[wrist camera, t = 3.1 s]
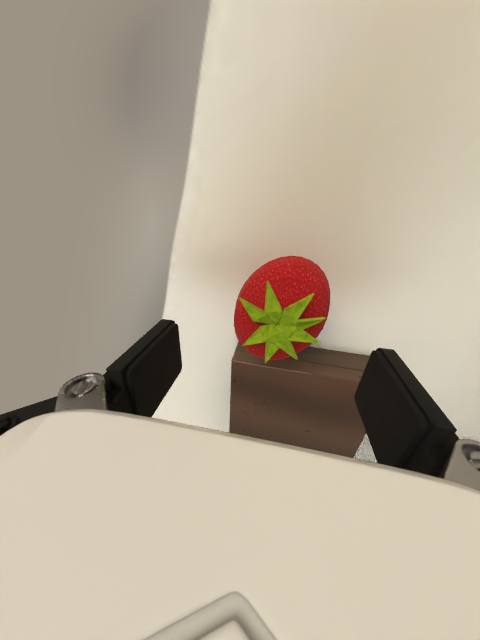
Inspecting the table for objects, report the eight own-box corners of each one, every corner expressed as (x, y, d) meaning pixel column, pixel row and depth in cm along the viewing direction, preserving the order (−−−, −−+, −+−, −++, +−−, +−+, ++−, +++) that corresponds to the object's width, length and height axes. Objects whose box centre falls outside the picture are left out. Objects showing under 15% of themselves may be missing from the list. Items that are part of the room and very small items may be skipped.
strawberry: (235, 305, 21) (198, 375, 12) (271, 229, 17) (253, 252, 9) (290, 331, 21) (290, 418, 12) (337, 262, 17) (384, 317, 9)
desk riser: (240, 336, 23) (231, 360, 19) (373, 356, 21) (390, 386, 17) (234, 449, 32) (227, 479, 29) (324, 470, 30) (329, 504, 27)
